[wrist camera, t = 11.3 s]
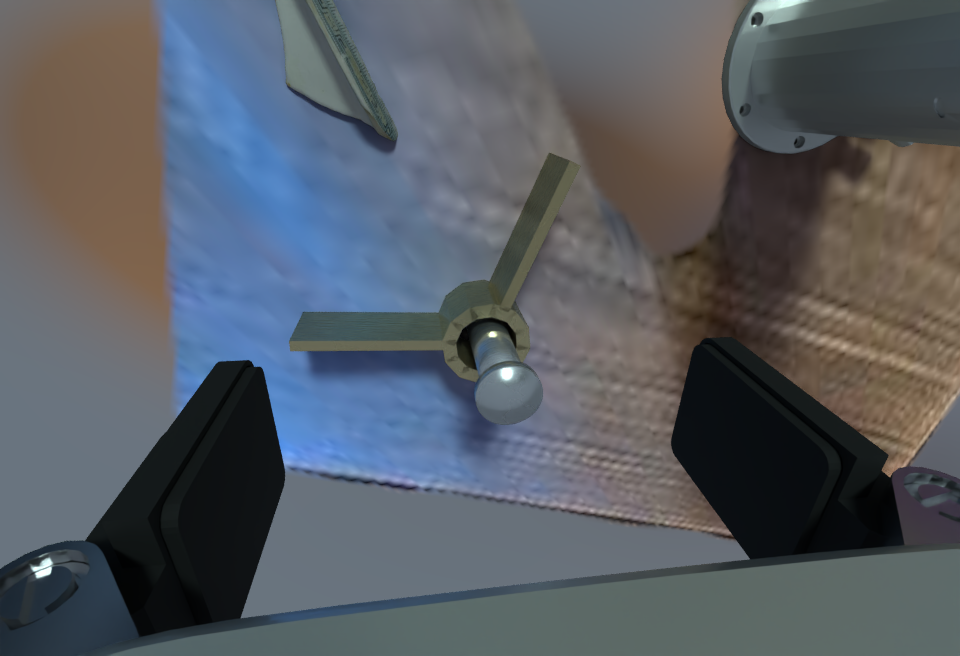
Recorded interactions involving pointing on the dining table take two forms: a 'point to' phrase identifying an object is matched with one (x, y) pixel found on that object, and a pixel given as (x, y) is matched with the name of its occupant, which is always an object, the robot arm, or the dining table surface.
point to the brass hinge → (454, 295)
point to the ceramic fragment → (329, 63)
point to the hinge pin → (502, 375)
